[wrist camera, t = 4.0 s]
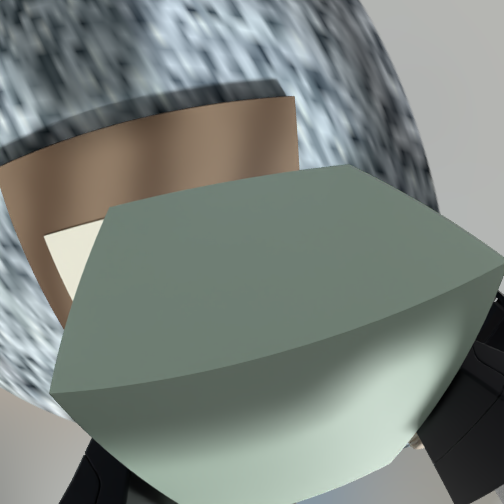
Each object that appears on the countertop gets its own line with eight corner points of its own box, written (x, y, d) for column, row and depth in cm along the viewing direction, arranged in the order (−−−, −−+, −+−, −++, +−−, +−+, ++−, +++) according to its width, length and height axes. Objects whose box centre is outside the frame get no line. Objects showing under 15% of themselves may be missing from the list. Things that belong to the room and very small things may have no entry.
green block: (349, 164, 7) (508, 260, 3) (332, 363, 12) (389, 463, 7) (108, 207, 6) (49, 394, 2) (186, 402, 11) (210, 522, 6)
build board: (286, 95, 16) (295, 96, 15) (296, 305, 25) (302, 315, 24) (3, 164, 13) (-6, 169, 12) (86, 351, 22) (84, 362, 21)
